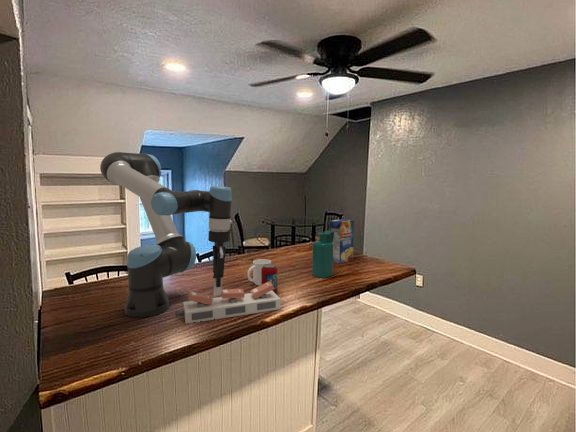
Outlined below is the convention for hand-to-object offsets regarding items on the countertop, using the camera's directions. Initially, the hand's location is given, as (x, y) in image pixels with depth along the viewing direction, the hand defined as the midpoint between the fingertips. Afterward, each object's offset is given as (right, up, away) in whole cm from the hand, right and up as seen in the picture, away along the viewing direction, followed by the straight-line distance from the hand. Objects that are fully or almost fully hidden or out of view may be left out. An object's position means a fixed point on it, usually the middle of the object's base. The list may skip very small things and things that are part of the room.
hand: (217, 294), depth 117 cm
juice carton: (+57, +2, +74) cm, 93 cm away
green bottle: (+43, -2, +46) cm, 63 cm away
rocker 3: (+16, 0, +6) cm, 17 cm away
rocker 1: (-6, -1, -2) cm, 6 cm away
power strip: (+4, -7, +2) cm, 8 cm away
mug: (+12, -3, +33) cm, 35 cm away
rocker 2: (+5, 0, +2) cm, 6 cm away
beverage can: (+18, -5, +22) cm, 28 cm away
